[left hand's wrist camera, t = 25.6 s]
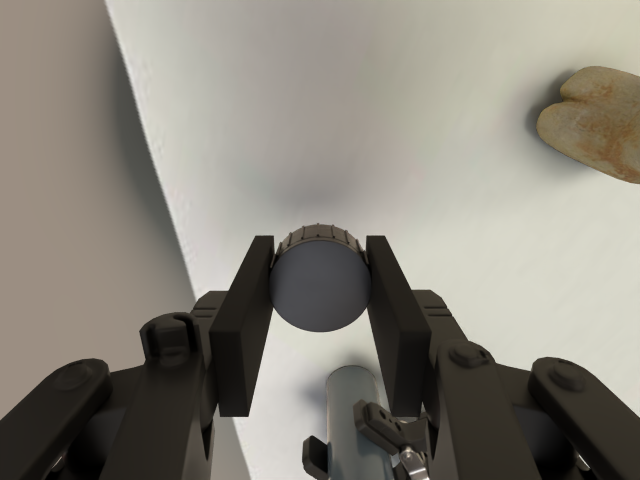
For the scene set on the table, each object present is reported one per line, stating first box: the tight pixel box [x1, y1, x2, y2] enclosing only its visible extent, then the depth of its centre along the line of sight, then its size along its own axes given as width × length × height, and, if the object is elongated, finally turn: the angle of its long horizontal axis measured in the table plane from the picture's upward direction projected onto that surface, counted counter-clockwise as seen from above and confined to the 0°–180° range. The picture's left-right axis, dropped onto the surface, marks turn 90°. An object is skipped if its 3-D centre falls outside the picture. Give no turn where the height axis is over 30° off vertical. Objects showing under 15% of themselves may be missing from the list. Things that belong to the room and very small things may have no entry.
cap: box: [268, 223, 372, 332], centre depth 14 cm, size 4×4×2 cm
